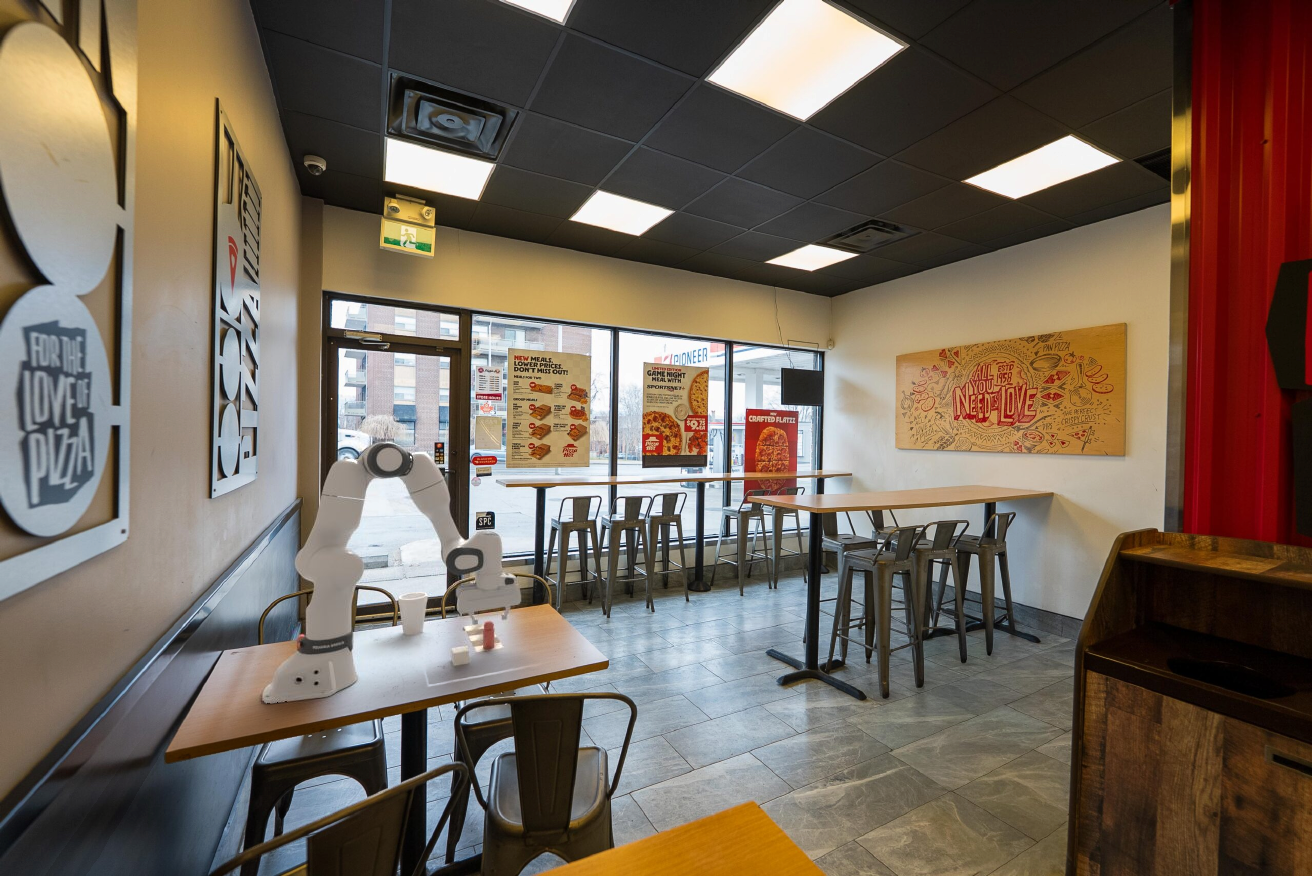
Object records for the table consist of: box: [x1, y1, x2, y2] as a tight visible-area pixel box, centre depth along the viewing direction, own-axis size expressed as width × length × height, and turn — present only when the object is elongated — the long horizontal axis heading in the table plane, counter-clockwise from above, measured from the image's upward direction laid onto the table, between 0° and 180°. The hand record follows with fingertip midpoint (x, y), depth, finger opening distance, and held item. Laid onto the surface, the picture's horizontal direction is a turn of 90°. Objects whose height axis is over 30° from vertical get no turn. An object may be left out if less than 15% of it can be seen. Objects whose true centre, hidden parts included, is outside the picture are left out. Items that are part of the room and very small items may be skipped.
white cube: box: [451, 645, 470, 667], centre depth 169 cm, size 4×4×4 cm
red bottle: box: [482, 620, 495, 649], centre depth 181 cm, size 4×4×9 cm
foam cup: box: [398, 591, 428, 636], centre depth 197 cm, size 10×9×13 cm
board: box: [462, 623, 504, 653], centre depth 191 cm, size 9×28×1 cm, turn 27°
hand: (489, 621), depth 182 cm, fingers open, 8 cm apart
